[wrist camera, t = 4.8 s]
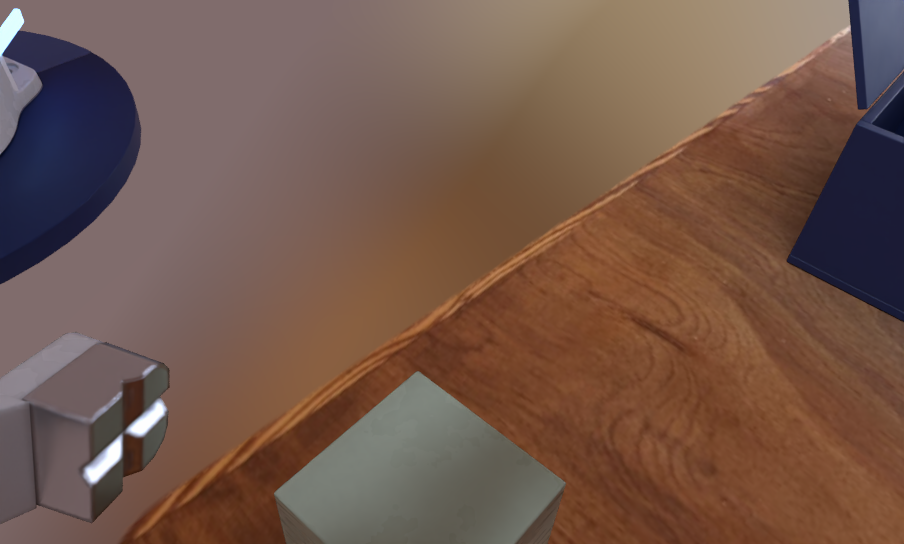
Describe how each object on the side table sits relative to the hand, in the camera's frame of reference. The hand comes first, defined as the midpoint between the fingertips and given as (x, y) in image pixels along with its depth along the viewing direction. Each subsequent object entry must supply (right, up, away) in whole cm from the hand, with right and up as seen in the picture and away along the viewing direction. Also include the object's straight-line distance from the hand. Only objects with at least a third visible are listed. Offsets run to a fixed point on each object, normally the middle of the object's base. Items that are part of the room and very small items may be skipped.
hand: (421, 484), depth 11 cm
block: (-1, -9, +14) cm, 17 cm away
